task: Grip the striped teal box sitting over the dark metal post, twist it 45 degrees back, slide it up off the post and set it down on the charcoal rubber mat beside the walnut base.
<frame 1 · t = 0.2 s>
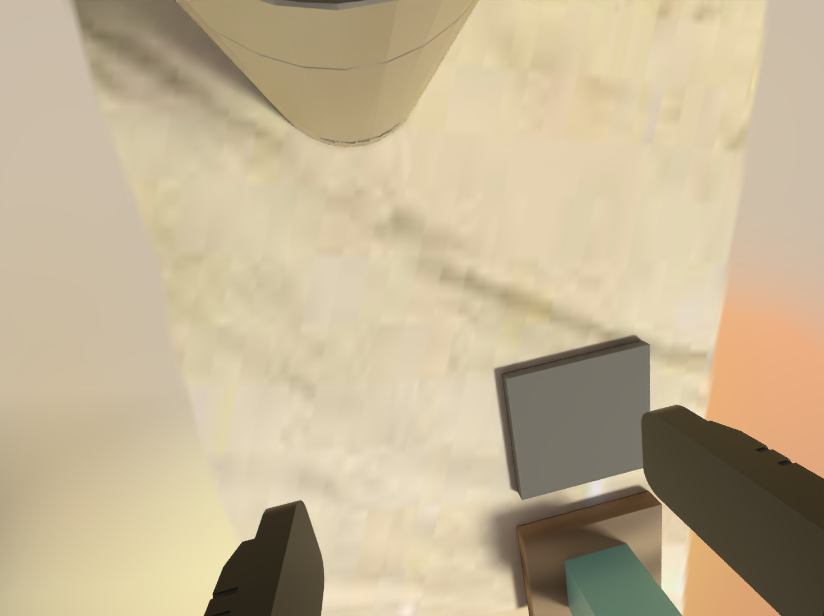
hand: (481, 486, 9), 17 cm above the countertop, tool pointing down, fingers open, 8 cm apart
post base: (587, 560, 34), on the countertop
striped teal box: (597, 576, 33), point 1 cm above the countertop, touching post base
mat: (577, 419, 30), on the countertop
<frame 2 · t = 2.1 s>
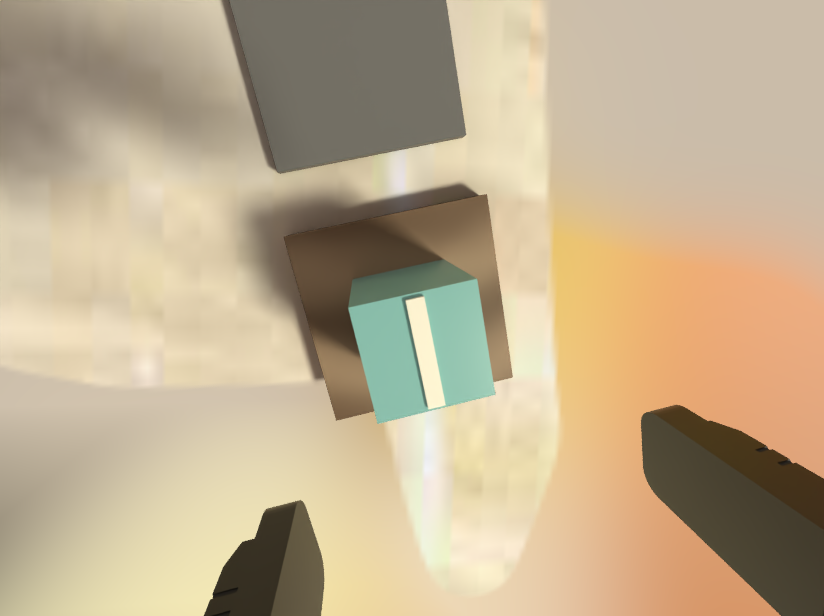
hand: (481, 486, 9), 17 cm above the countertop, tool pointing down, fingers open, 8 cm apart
post base: (405, 307, 25), on the countertop
striped teal box: (407, 313, 24), point 1 cm above the countertop, touching post base
mat: (350, 50, 21), on the countertop
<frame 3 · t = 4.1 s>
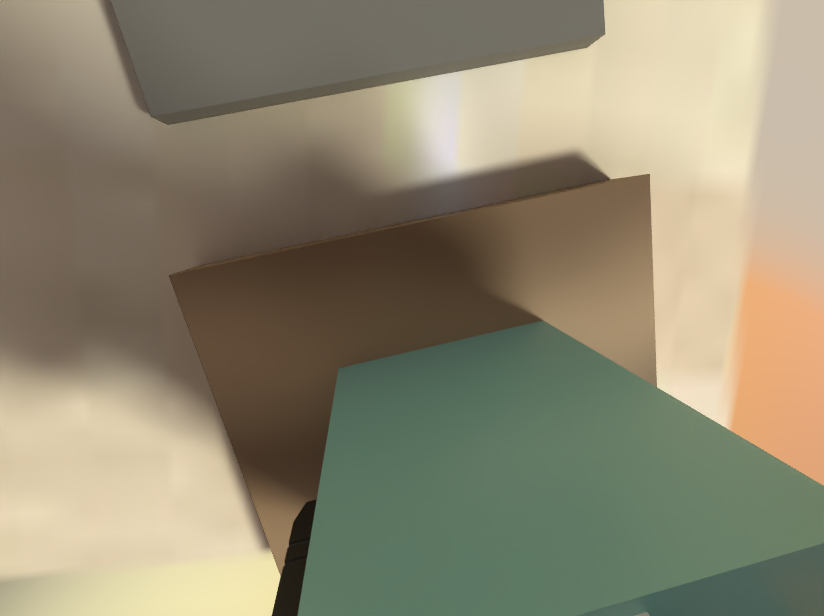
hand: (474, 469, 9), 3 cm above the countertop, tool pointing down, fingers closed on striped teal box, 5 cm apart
post base: (448, 408, 12), on the countertop
striped teal box: (460, 434, 11), point 2 cm above the countertop, touching gripper, post base
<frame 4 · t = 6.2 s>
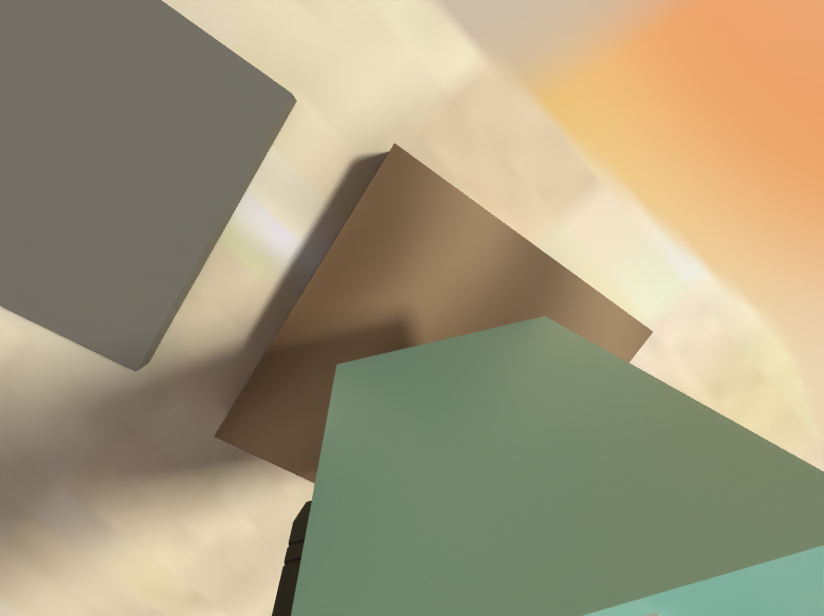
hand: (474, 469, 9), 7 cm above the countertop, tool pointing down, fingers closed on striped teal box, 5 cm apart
post base: (434, 366, 16), on the countertop
striped teal box: (460, 432, 11), point 5 cm above the countertop, touching gripper
mat: (59, 145, 12), on the countertop
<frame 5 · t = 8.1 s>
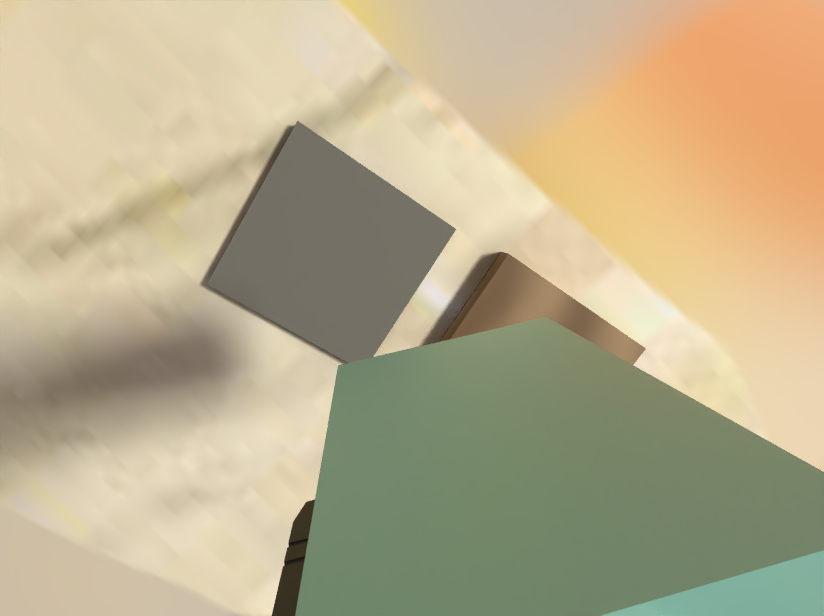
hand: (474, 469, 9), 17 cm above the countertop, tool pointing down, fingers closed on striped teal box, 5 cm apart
post base: (518, 368, 27), on the countertop
striped teal box: (461, 433, 11), point 15 cm above the countertop, touching gripper
mat: (334, 255, 24), on the countertop
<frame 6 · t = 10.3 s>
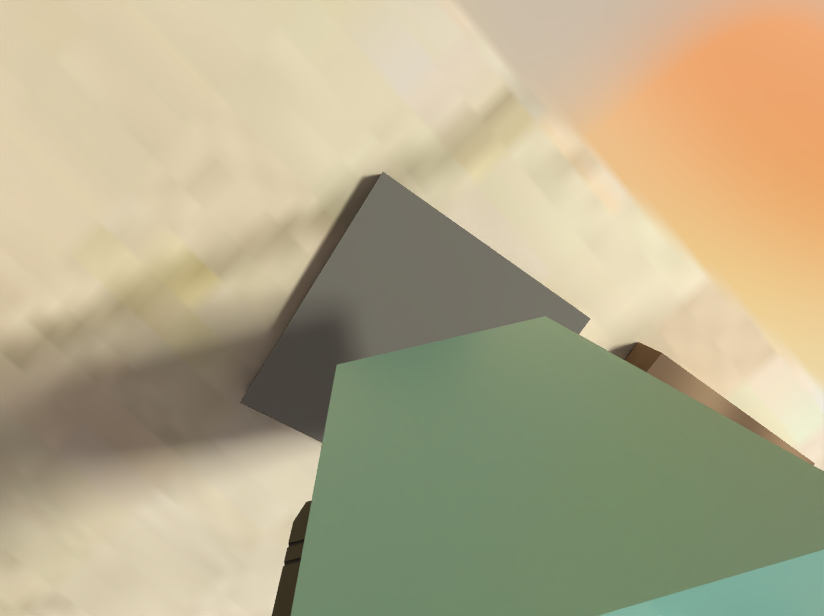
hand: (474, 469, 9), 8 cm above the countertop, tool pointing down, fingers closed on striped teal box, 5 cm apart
post base: (644, 485, 21), on the countertop
striped teal box: (460, 432, 11), point 7 cm above the countertop, touching gripper
mat: (418, 352, 17), on the countertop
when the fingers open (4 cm above the countertop, at t = 12.1 s): striped teal box drops 2 cm, resting on mat.
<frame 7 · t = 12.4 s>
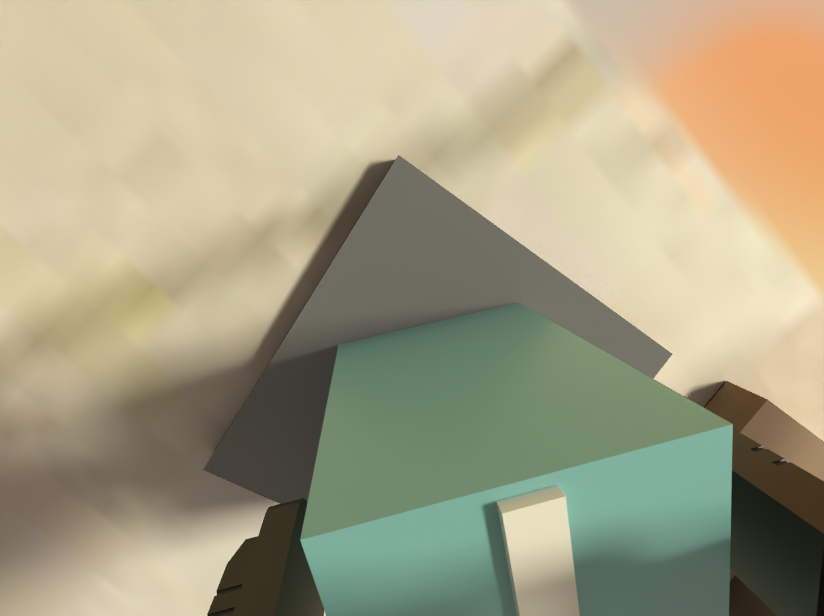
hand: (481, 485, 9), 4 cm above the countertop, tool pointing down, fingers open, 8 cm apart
post base: (723, 557, 16), on the countertop
striped teal box: (446, 405, 12), point 1 cm above the countertop, touching mat
mat: (443, 397, 13), on the countertop
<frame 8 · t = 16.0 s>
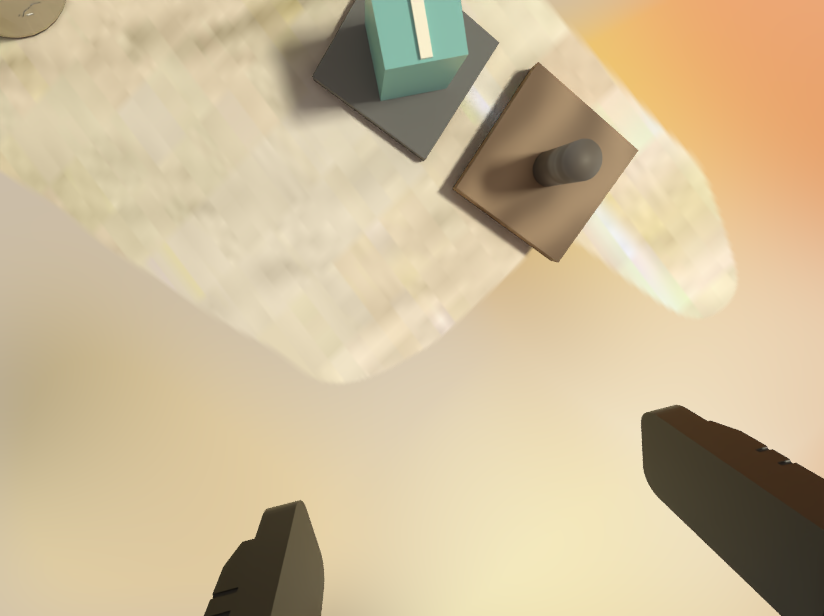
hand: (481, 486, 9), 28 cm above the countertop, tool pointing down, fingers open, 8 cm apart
post base: (541, 170, 35), on the countertop
striped teal box: (406, 57, 31), point 1 cm above the countertop, touching mat
mat: (406, 62, 32), on the countertop
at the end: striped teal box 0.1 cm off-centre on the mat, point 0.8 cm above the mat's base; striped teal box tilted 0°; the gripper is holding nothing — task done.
